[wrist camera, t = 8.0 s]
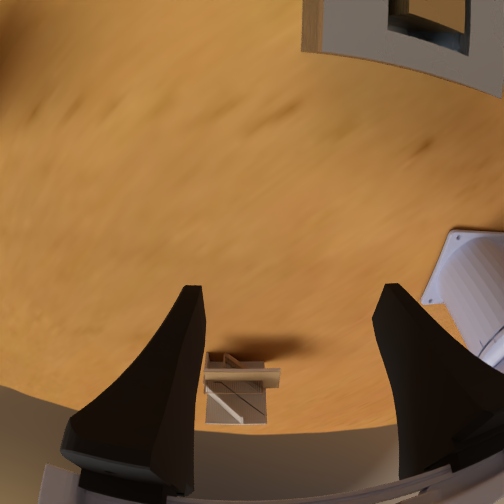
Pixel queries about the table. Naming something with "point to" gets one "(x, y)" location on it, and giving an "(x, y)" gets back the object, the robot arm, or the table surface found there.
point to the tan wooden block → (427, 15)
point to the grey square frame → (411, 41)
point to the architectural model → (237, 391)
